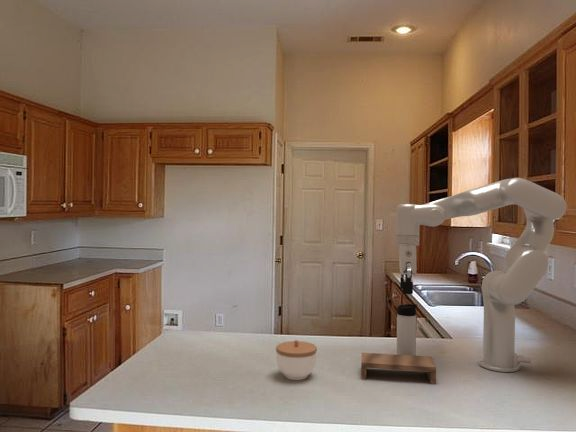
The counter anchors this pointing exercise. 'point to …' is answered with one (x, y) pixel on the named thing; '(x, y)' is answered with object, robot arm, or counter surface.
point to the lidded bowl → (296, 359)
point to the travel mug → (406, 329)
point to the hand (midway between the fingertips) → (406, 291)
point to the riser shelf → (399, 363)
